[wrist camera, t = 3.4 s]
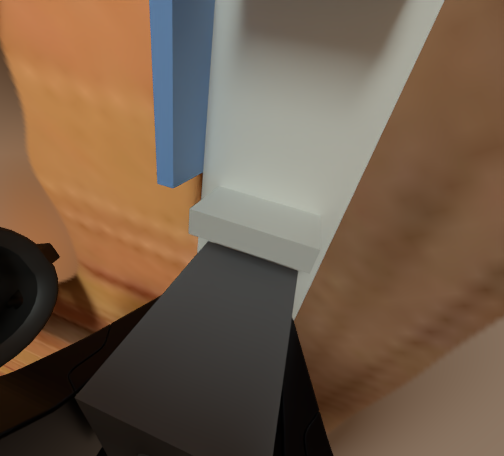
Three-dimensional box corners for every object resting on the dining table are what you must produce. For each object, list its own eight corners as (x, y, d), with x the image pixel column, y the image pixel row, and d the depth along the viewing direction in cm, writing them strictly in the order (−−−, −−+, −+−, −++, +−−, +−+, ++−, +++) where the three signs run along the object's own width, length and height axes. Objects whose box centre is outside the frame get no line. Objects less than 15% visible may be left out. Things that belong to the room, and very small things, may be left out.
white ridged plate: (281, 338, 14) (272, 395, 11) (191, 304, 15) (161, 348, 12) (490, -119, 5) (723, -431, 2) (216, -137, 6) (117, -373, 3)
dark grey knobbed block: (272, 334, 11) (213, 606, 5) (201, 307, 12) (71, 523, 6) (298, 270, 9) (247, 636, 3) (208, 240, 9) (-4, 487, 3)
